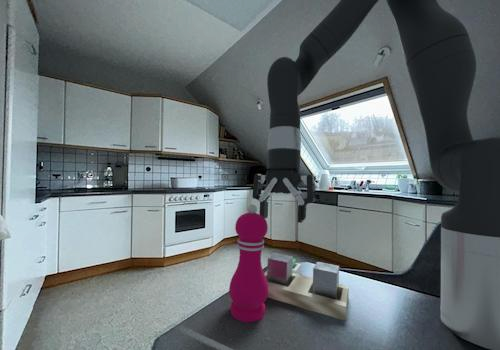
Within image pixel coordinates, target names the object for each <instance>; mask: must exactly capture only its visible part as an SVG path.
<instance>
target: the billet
mask: <svg viewBox="0 0 500 350" xmlns="http://www.w3.org/2000/svg"><path fill="white" fill-rule="evenodd" d="M312 268H313V269H312V272H313V273H312V278H313V294H316V295H320V296H323V297H327V298H331V299H335V300H338V289H339V284H340V282H339V281H340V280H339V279H340V276H339V275H340V265H336V264H331V263H325V262H322V261H317V262H316V263H315V264H314V267H312Z"/></svg>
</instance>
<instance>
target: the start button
mask: <svg viewBox="0 0 500 350" xmlns="http://www.w3.org/2000/svg"><path fill="white" fill-rule="evenodd" d="M296 263H297V259H296V258H293V267H292V269H294V268H295V267H296Z"/></svg>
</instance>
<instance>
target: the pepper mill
mask: <svg viewBox="0 0 500 350" xmlns="http://www.w3.org/2000/svg"><path fill="white" fill-rule="evenodd" d="M257 211H258V208H257V206H256V205H255V204H249V205H248V207H247V213H243V214H241V215H240V216H238V218H237V219H236V222H235V225H234V227H235V232H236V234H237V236H238V237H239V238H238V239H237V245H236V246H237V248H238V249H239V259H238V264H237V267H236V269H235V271H234V274H233V275H232V277H231V280H230V284H229V289H228V294H229V297H230V299H231V300H232V301H231V304H230V315H231V316H232V317H233V318H234V319H236V320H238V321H240V322H243V323H253V322H257V321H260V320H261V319H263V318H264V317H265V314H266V304H265V302H266V300H267V299H268V298H269V297H268V283H267V279H266V277H265V274H264V273H265V272H264V269H263V266H262V261H261V260H262V250H264V249H265V240H264V237H265V236H266V235H267V233H268V227H269V226H268V222H267V220H266V218H264V217H263V216H261V215H260V213H257Z"/></svg>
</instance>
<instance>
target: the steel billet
mask: <svg viewBox="0 0 500 350" xmlns="http://www.w3.org/2000/svg"><path fill="white" fill-rule="evenodd" d="M293 259H294V257H293V256H291V255H286V254H281V253H277V252H276V253H273V254H271V255H270V256H269V257H267V266H266V267H267V268H266V269H267V270H266V271H267V281H268V282H271V283H275V284H279V285H282V286H286V287H288V286H289V285H290V284H291V282H292V267H293Z"/></svg>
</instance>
